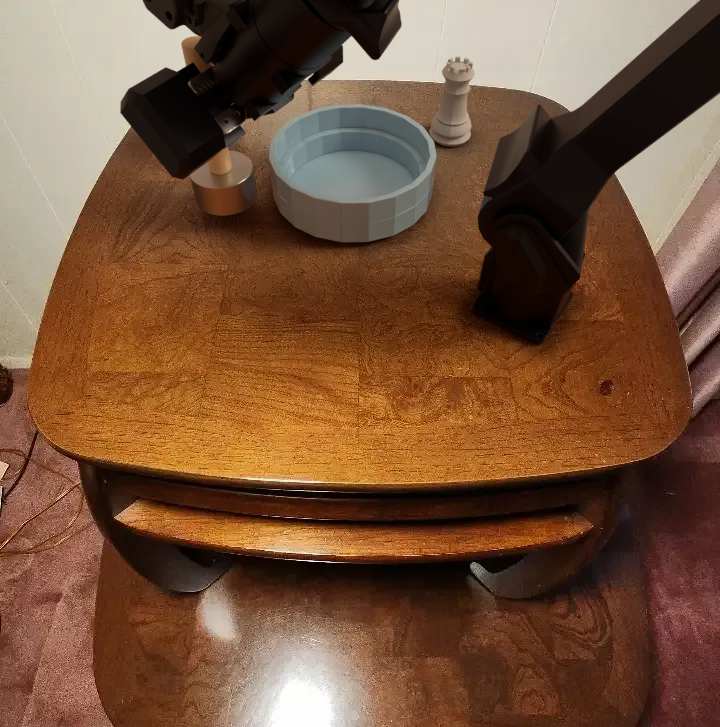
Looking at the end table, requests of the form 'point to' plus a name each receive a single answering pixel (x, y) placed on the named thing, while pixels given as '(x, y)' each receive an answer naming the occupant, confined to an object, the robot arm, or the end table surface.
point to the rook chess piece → (453, 105)
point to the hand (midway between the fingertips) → (200, 126)
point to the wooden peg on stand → (220, 166)
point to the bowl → (352, 172)
